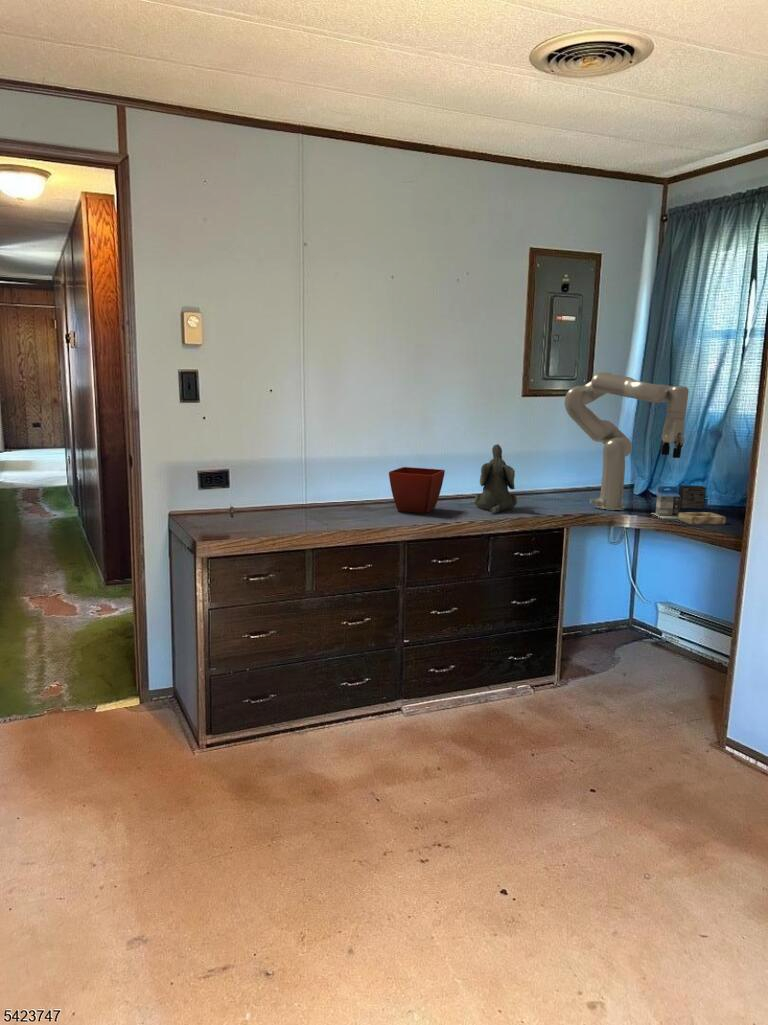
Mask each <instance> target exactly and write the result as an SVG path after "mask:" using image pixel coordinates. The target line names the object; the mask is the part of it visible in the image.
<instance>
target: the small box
mask: <svg viewBox="0 0 768 1025" xmlns="http://www.w3.org/2000/svg"><path fill="white" fill-rule="evenodd" d="M677 493H678V494H679V495H680V508H679V510H688V509H700V510H699V511H704V510H705V503H706V496H707V495H706V493H707V487H706V486H703V485H687V484H685V485H684V484H683V485H682V484H679V485H678V492H677Z"/></svg>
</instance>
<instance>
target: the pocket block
mask: <svg viewBox="0 0 768 1025" xmlns="http://www.w3.org/2000/svg"><path fill="white" fill-rule="evenodd" d="M726 519H727V517H726V516H724V515H720V514H718V513H715V512H707V511H706V512H705V511H702V512H682V511H681V512H680V511H679V518H678V519H677V520H678V521H681V522H684V523H687V524H689V525H726Z"/></svg>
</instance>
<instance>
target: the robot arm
mask: <svg viewBox="0 0 768 1025" xmlns="http://www.w3.org/2000/svg"><path fill="white" fill-rule="evenodd" d="M689 392H690V390H689V388H688V386H679V385H673V386H671V385H667V384H657V383H656V384H655V383H650V382H644V381H640V380H637V379H634V378H633V377H630V376H624V375H619V374H613V373H610V372H603V371H602V372H601V371H600V372H597V373H595V374H593V376H592V378H591V381H589V382H588V383H585V384H584V385H576V386H572V387H571V388H570V389H568V391H567V392H566V394H565V397H564V408H565V411H566V413H567V414H568V416H569V417H570V418H571V419H572V421H574V422H575V423H576V425H577V426H578V427H579V428H580V429H581V430H582V431H583V432H584V433H585V434H586V435H587V436H588V437H589V438H590V439H591V440H592V441H594V442H596V443H602V445H603V446H602V447H603V448H602V470H601V471H602V474H601V487H600V495H599V496H598V497H597V498H596V499H595V498H594V499H592V498H590V499H589V504H590V505H591V504H593V505H594V504H595V508H597V509H599V508H600V510H604V509H606V510H605V511H614V510H620V511H624V510H623V509H626V506H625V505H623V495H624V488H625V487H624V486H625V477H626V476H625V474H626V457H628V456H629V455H631V453H632V451H633V444H632V441H631V440H630V439H629V438H628V436H626V435H625V433H623V432H622V430H620V429H619V428H618V427H617V426H616V425H615V424H614V423H612V422H611V421H610V420H608V419H607V420H605V419H601V418H599V417H598V415H596V414H595V413H594V412H593V411H592V410H591V409H590V408H589V407H587V405H589V404H591V403H593V402H594V401H596V400H597V399H599V398H600V397H603V396H604V395H606V394H610V395H615V396H619V397H623V398H628V399H629V398H630V399H634V400H639V401H643V402H644V401H645V402H650V403H654V404H657V403H659V404H660V403H667V407H666V416H665V420H664V423H663V428H662V434H661V442H662V443H661V445H662V446H661V455H663V456H664V455H665V456H668V455H670V450H671V446H670V444H673V446H674V448H673V450H672V458H675V459H680V458H681V455H682V449H683V446H684V444H685V437H684V433H685V420H686V415H687V407H688V399H689Z"/></svg>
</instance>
